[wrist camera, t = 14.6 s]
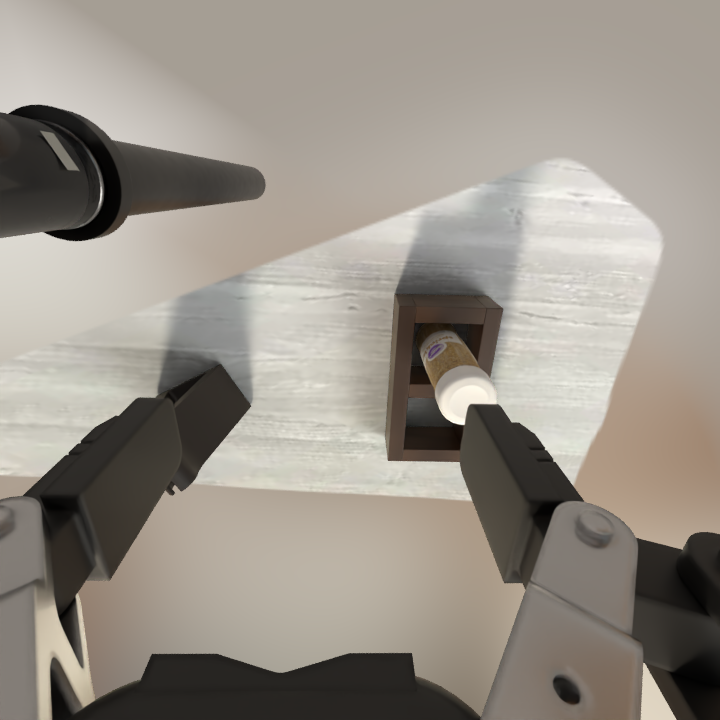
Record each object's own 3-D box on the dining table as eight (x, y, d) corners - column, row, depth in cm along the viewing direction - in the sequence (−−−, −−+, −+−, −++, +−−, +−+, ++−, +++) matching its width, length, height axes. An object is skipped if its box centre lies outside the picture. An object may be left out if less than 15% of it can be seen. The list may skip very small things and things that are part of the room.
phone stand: (188, 434, 46) (137, 510, 35) (156, 395, 44) (91, 464, 33) (252, 405, 45) (218, 476, 34) (222, 363, 42) (176, 424, 32)
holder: (385, 436, 47) (387, 460, 43) (394, 293, 39) (399, 305, 35) (464, 438, 47) (474, 462, 43) (488, 295, 40) (503, 308, 36)
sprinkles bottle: (429, 310, 40) (462, 365, 28) (465, 330, 41) (511, 392, 29) (406, 346, 42) (427, 412, 30) (441, 364, 43) (475, 436, 31)
